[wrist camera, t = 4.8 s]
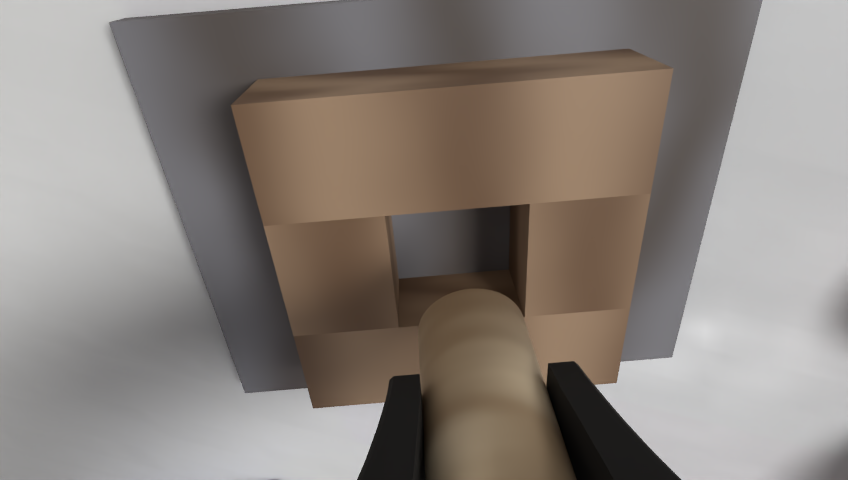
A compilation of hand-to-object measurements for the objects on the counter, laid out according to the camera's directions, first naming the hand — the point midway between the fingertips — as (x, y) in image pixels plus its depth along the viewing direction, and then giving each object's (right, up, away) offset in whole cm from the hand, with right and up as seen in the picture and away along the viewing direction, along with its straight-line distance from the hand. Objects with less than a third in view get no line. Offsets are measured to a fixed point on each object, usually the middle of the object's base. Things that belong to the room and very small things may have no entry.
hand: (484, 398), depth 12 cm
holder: (0, +5, +8) cm, 9 cm away
